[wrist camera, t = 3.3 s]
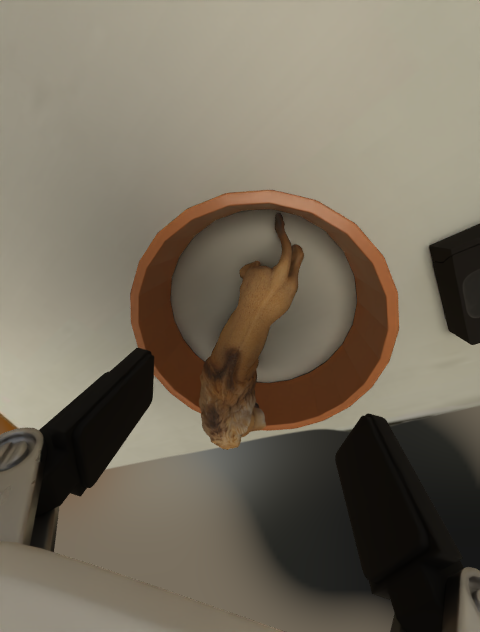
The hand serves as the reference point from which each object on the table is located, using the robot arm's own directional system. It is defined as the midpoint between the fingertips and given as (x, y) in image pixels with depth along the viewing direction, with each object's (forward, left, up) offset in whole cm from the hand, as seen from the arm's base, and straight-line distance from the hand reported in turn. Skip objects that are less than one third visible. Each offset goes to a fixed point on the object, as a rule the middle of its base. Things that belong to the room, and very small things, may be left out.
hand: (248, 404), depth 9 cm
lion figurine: (0, 0, -10) cm, 10 cm away
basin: (0, 0, -10) cm, 10 cm away
